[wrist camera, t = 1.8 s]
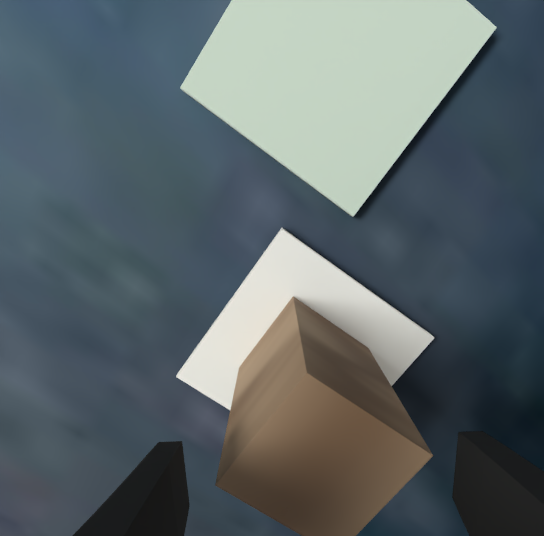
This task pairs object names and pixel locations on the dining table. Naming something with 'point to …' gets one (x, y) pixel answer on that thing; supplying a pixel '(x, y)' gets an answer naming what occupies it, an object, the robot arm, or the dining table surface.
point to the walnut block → (316, 429)
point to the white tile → (315, 294)
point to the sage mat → (335, 81)
